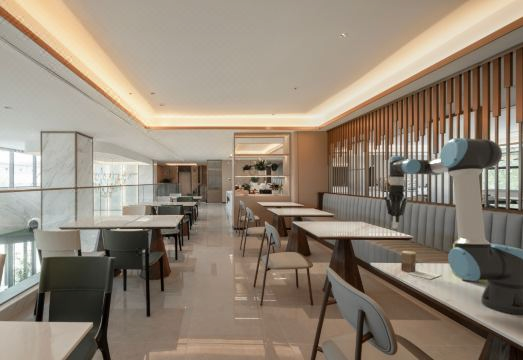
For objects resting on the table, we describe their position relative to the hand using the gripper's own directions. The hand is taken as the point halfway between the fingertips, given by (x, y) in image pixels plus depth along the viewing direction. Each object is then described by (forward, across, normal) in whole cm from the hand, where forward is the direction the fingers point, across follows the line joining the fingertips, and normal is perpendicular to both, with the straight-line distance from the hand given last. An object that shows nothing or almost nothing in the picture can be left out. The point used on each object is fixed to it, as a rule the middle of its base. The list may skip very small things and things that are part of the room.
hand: (395, 228), depth 178 cm
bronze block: (+22, -8, 0) cm, 23 cm away
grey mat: (+21, -17, 0) cm, 27 cm away
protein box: (+22, -31, -15) cm, 41 cm away
